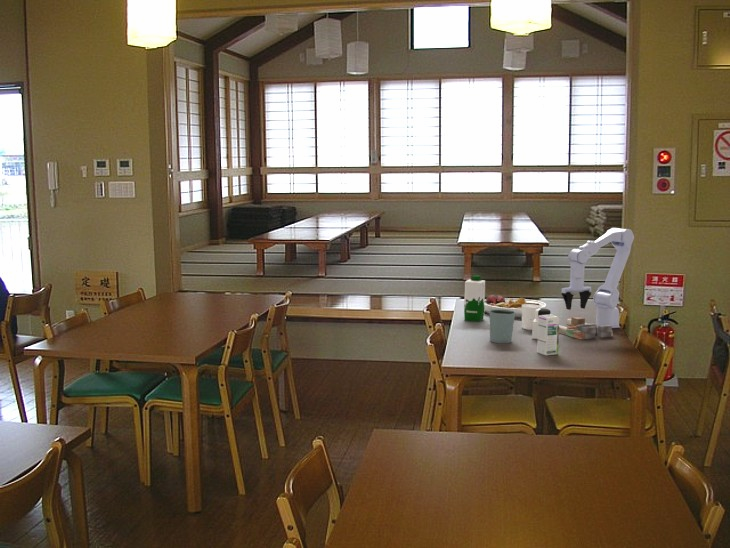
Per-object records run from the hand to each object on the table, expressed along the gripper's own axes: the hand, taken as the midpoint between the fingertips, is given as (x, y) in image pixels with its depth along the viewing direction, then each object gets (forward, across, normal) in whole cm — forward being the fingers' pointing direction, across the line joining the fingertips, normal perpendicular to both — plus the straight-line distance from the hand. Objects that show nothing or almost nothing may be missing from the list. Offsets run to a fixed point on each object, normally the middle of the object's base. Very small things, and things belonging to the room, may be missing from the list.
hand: (575, 308), depth 347 cm
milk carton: (+10, +28, -36) cm, 47 cm away
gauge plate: (+9, +4, +11) cm, 15 cm away
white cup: (+10, +16, -10) cm, 21 cm away
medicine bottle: (+10, +23, +7) cm, 26 cm away
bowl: (+10, 0, -44) cm, 45 cm away
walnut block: (+9, +1, +3) cm, 10 cm away
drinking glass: (+9, +42, +6) cm, 43 cm away
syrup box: (+9, +38, +31) cm, 50 cm away
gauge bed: (+9, +1, +3) cm, 10 cm away
